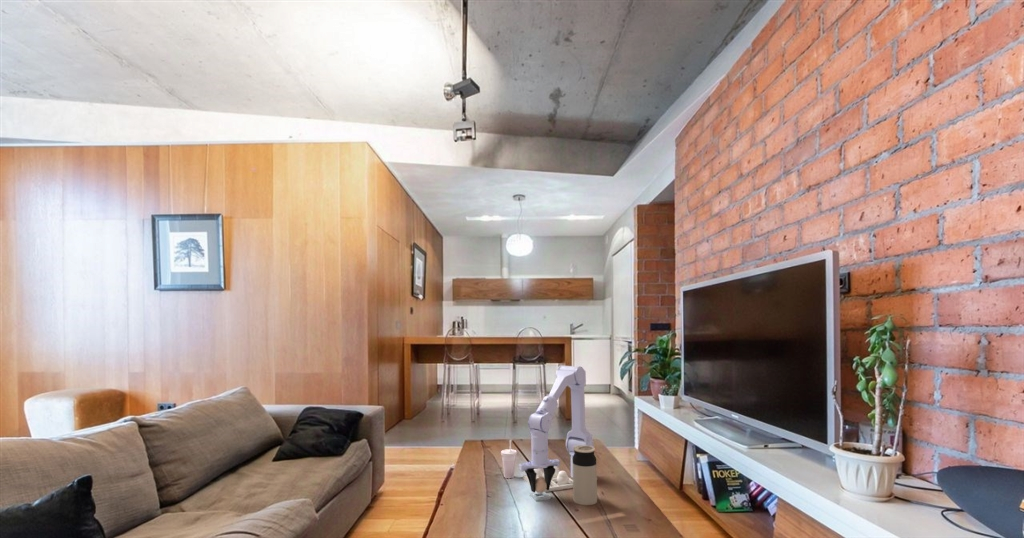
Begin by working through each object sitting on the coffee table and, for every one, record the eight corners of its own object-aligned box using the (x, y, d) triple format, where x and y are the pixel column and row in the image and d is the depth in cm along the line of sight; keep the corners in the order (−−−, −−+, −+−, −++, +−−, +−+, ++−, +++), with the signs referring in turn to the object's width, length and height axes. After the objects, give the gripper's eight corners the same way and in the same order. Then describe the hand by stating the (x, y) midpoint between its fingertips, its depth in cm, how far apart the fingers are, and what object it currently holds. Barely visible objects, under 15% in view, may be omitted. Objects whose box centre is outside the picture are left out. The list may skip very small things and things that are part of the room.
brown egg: (543, 489, 159) (543, 473, 160) (549, 494, 155) (548, 477, 155) (531, 491, 158) (531, 474, 158) (536, 496, 153) (536, 479, 154)
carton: (558, 476, 179) (558, 470, 179) (577, 489, 165) (577, 483, 165) (523, 481, 174) (523, 475, 174) (539, 495, 160) (539, 489, 160)
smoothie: (515, 480, 175) (515, 442, 176) (499, 479, 176) (499, 441, 177) (518, 474, 181) (518, 438, 182) (502, 473, 182) (502, 437, 184)
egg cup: (544, 495, 160) (544, 490, 160) (551, 502, 154) (551, 497, 154) (528, 498, 158) (528, 493, 158) (535, 504, 152) (535, 499, 152)
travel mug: (601, 503, 153) (600, 447, 155) (588, 510, 148) (586, 453, 149) (582, 496, 159) (581, 443, 161) (568, 503, 153) (567, 448, 155)
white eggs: (556, 476, 177) (556, 462, 177) (571, 487, 166) (571, 472, 167) (529, 480, 173) (529, 466, 173) (542, 491, 162) (541, 476, 162)
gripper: (524, 454, 151) (525, 497, 150) (563, 450, 157) (564, 491, 155) (516, 449, 158) (517, 490, 157) (554, 444, 163) (555, 484, 162)
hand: (540, 490), depth 156 cm, fingers closed on brown egg, 4 cm apart
